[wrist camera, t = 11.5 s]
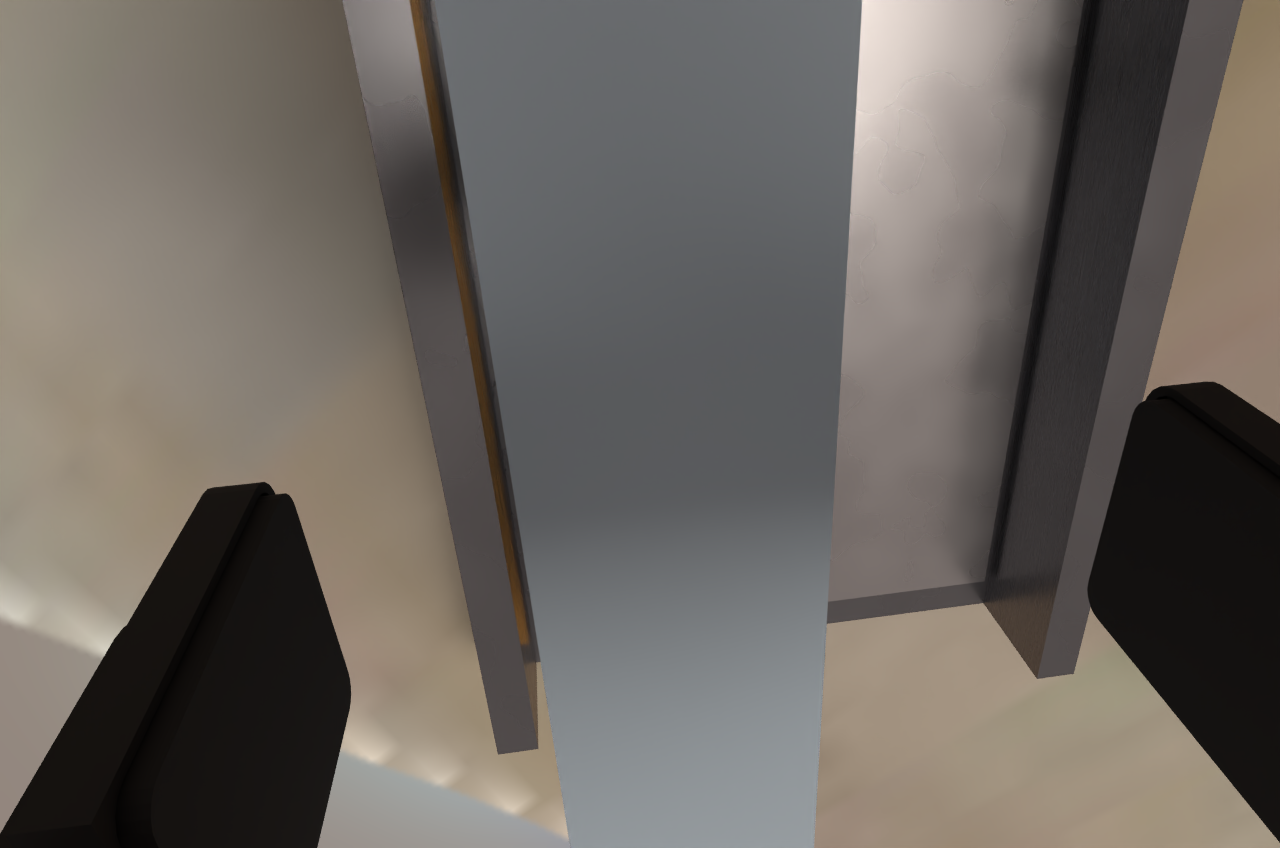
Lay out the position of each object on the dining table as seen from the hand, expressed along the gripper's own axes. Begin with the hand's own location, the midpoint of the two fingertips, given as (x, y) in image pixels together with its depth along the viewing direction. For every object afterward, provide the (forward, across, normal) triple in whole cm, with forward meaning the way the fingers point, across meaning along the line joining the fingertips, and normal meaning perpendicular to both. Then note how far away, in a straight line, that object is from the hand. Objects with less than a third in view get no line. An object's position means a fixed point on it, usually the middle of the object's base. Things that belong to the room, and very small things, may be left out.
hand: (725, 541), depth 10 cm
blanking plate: (+10, 0, +1) cm, 10 cm away
